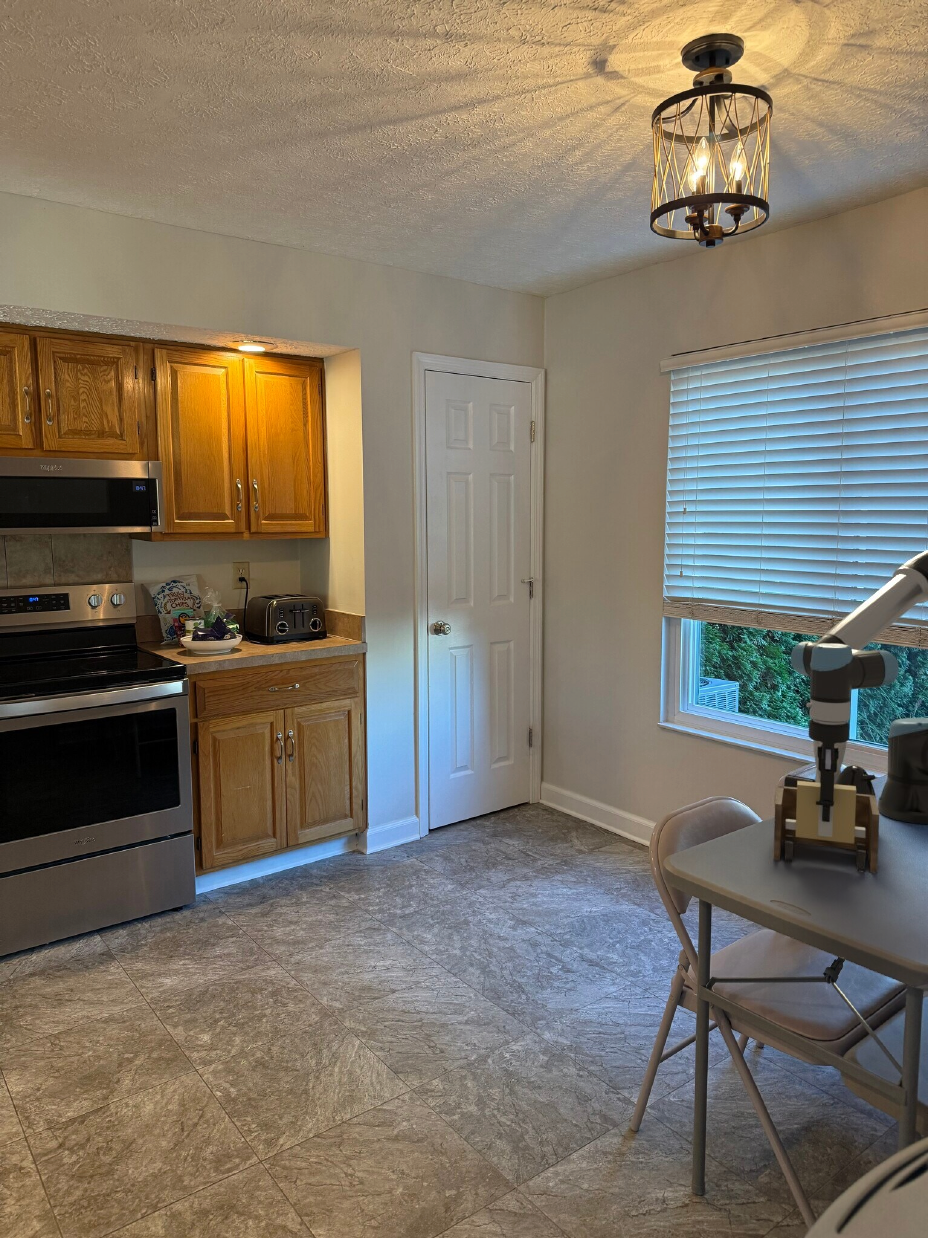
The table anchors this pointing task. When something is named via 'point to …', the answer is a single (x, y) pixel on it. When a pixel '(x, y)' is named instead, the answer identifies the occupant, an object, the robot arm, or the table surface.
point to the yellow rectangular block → (841, 813)
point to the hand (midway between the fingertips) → (824, 832)
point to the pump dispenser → (857, 780)
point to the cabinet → (863, 818)
